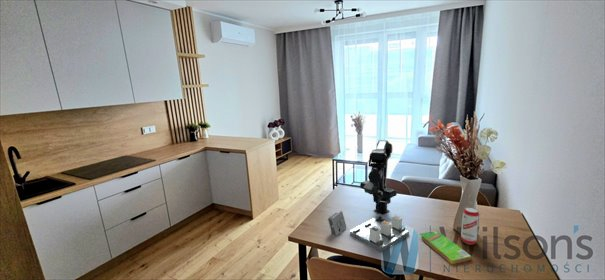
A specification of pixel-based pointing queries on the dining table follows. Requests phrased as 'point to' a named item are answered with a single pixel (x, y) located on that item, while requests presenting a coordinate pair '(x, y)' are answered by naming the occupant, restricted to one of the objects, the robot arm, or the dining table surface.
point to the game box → (445, 247)
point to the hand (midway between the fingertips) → (377, 204)
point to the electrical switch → (337, 223)
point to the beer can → (470, 225)
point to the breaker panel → (385, 241)
